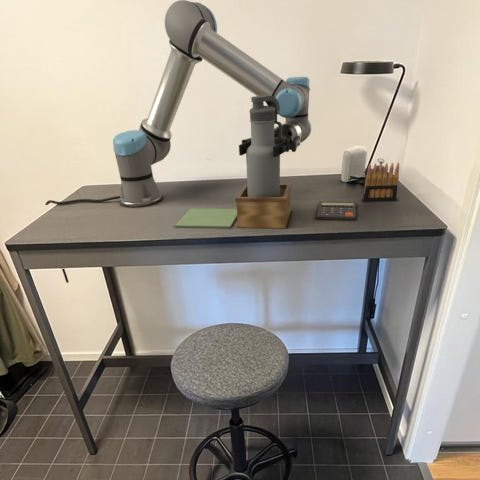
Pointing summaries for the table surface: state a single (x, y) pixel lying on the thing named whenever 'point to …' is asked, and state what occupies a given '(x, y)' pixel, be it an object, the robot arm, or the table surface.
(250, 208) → the wooden box
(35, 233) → the table surface
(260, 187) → the water bottle
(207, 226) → the desk mat
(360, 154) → the photo printer
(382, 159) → the pocket watch
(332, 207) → the calculator
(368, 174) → the ammunition clip
